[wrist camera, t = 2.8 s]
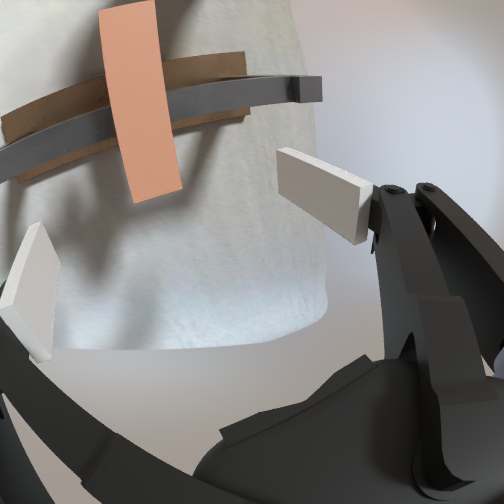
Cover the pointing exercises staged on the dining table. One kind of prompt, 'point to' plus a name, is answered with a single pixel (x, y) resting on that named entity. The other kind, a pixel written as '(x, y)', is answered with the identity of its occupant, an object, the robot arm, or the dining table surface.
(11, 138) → the stand
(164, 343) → the dining table surface
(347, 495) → the robot arm
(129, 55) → the c link
